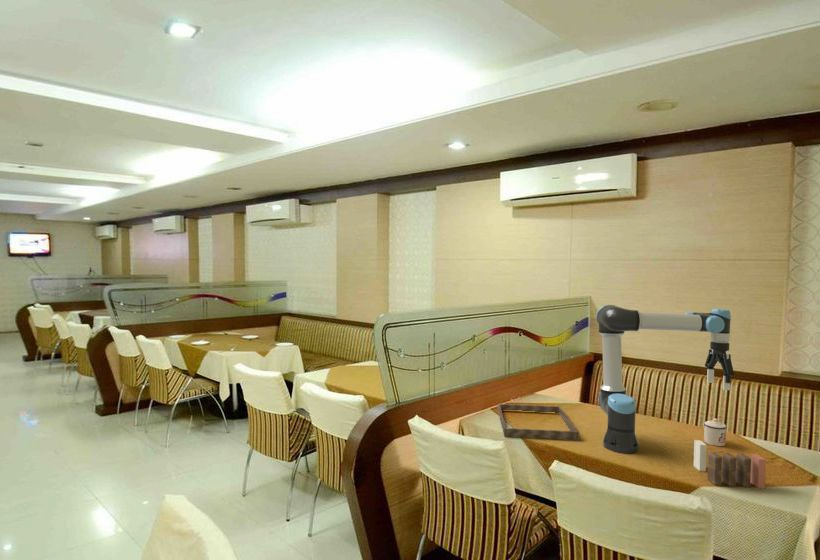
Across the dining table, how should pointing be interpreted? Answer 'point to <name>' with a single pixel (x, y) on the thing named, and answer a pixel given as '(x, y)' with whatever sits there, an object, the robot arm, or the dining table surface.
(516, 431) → the serving frame
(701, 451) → the domino
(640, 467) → the dining table surface
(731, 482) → the domino
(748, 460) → the domino
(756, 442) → the dining table surface
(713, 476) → the domino
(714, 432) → the teacup with lid
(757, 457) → the domino
